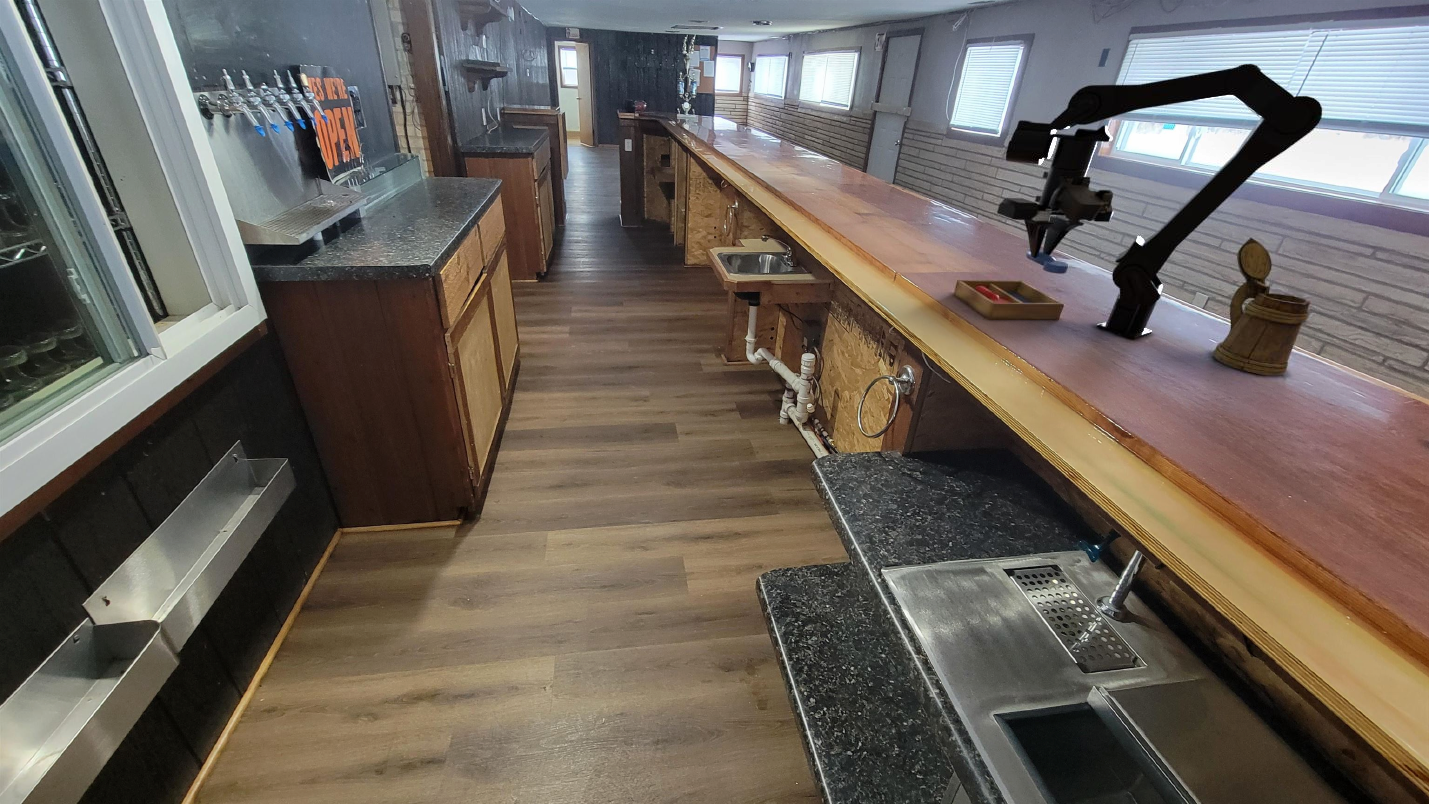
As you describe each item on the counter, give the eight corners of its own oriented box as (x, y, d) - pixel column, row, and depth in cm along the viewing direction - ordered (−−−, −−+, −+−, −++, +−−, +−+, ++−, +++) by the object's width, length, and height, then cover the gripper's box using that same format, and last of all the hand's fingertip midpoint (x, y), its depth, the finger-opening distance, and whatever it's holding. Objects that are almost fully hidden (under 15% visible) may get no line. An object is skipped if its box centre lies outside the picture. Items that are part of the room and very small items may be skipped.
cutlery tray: (953, 294, 116) (957, 280, 114) (1017, 294, 117) (1021, 280, 116) (988, 319, 104) (993, 303, 102) (1059, 319, 105) (1064, 304, 104)
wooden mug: (1218, 340, 99) (1272, 237, 90) (1299, 375, 88) (1370, 260, 79) (1175, 341, 98) (1226, 237, 89) (1252, 377, 86) (1319, 261, 77)
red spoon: (967, 294, 114) (970, 284, 113) (985, 294, 114) (987, 284, 113) (993, 312, 105) (996, 301, 104) (1012, 312, 106) (1015, 301, 105)
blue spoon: (1018, 258, 108) (1021, 247, 107) (1036, 258, 109) (1040, 247, 108) (1051, 273, 100) (1054, 262, 99) (1070, 274, 100) (1074, 262, 99)
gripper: (1047, 173, 90) (1017, 269, 97) (1153, 177, 92) (1115, 271, 99) (1008, 164, 99) (983, 252, 107) (1105, 167, 101) (1074, 253, 109)
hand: (1039, 257), depth 105 cm, fingers closed on blue spoon, 2 cm apart
